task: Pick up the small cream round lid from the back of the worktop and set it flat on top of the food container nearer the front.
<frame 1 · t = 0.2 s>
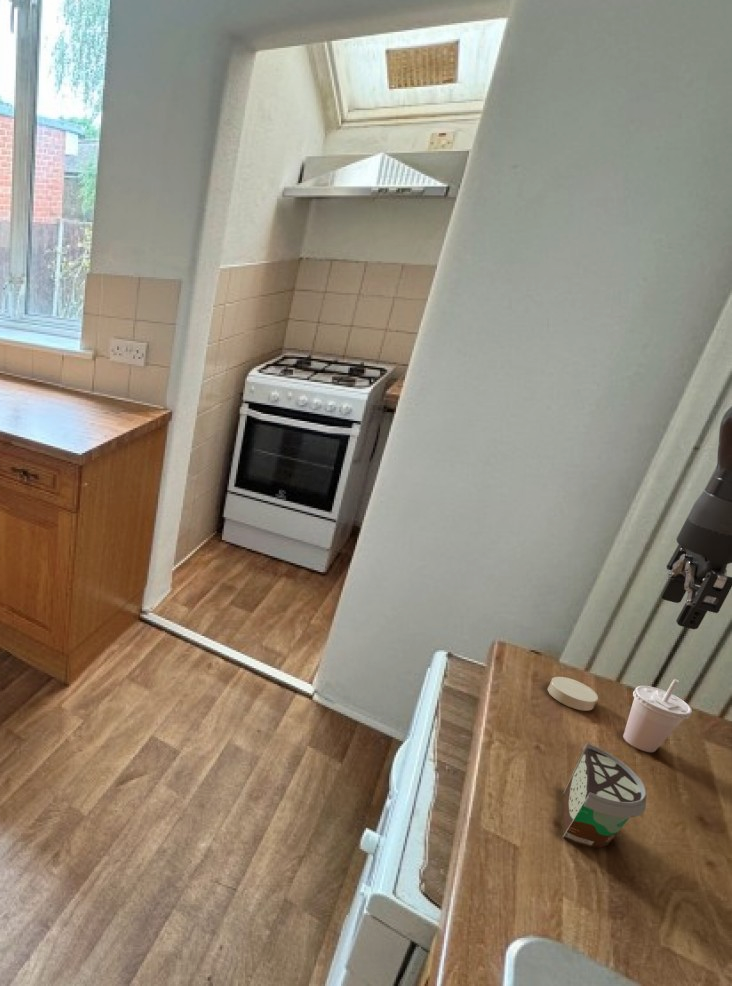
hand: (677, 612, 96), 23 cm above the countertop, tool pointing down, fingers open, 8 cm apart
food container: (590, 831, 85), on the countertop
cream round lid: (569, 699, 109), on the countertop
smoothie: (637, 745, 100), on the countertop
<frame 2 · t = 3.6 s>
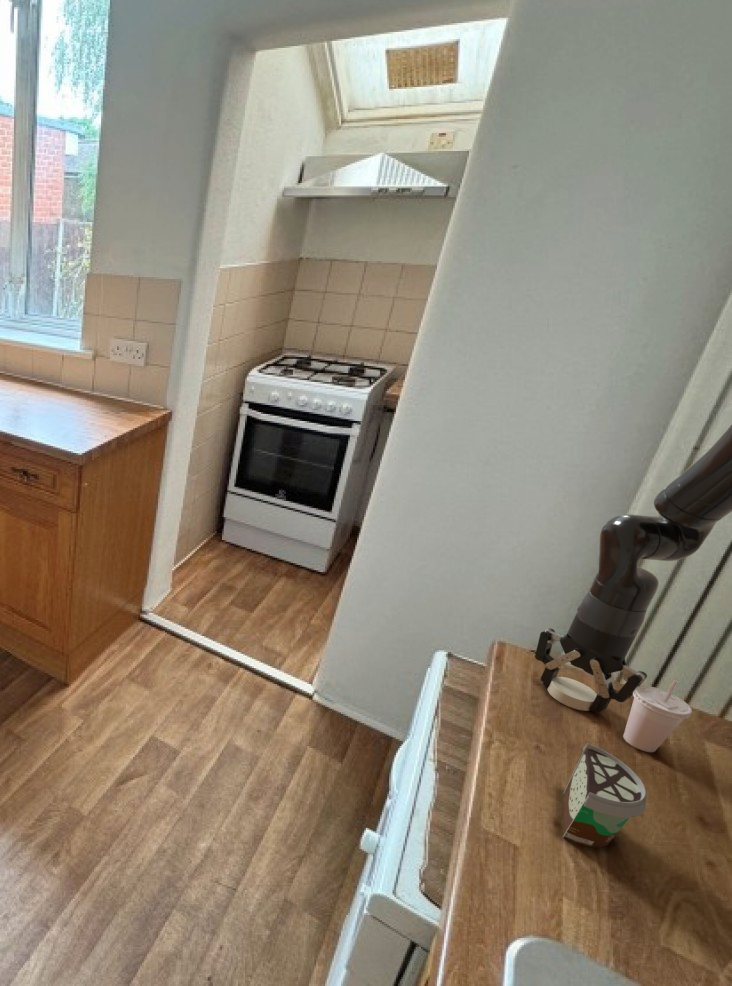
hand: (570, 696, 109), 1 cm above the countertop, tool pointing down, fingers closed on cream round lid, 6 cm apart
cream round lid: (569, 699, 109), on the countertop, touching gripper
everything else where it was.
when the fingers open (11 cm above the countertop, at t = 11.8 s): cream round lid stays where it is, resting on food container.
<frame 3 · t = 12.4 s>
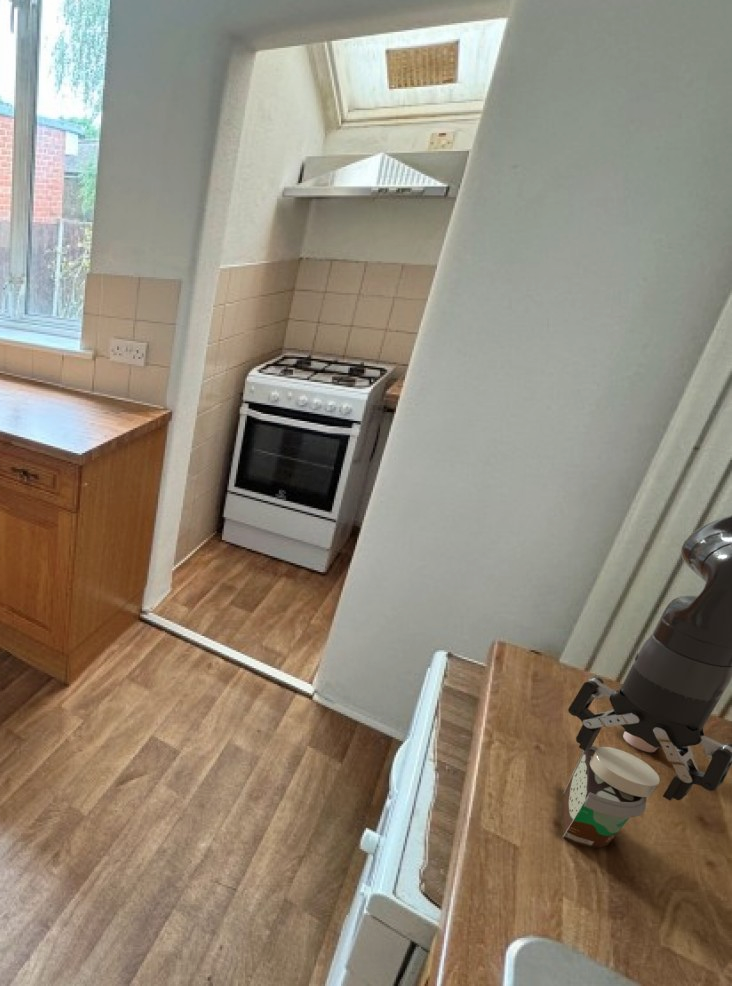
hand: (624, 770, 81), 12 cm above the countertop, tool pointing down, fingers open, 8 cm apart
food container: (590, 831, 85), on the countertop, touching cream round lid
cream round lid: (619, 779, 82), point 10 cm above the countertop, touching food container
everything else where it was.
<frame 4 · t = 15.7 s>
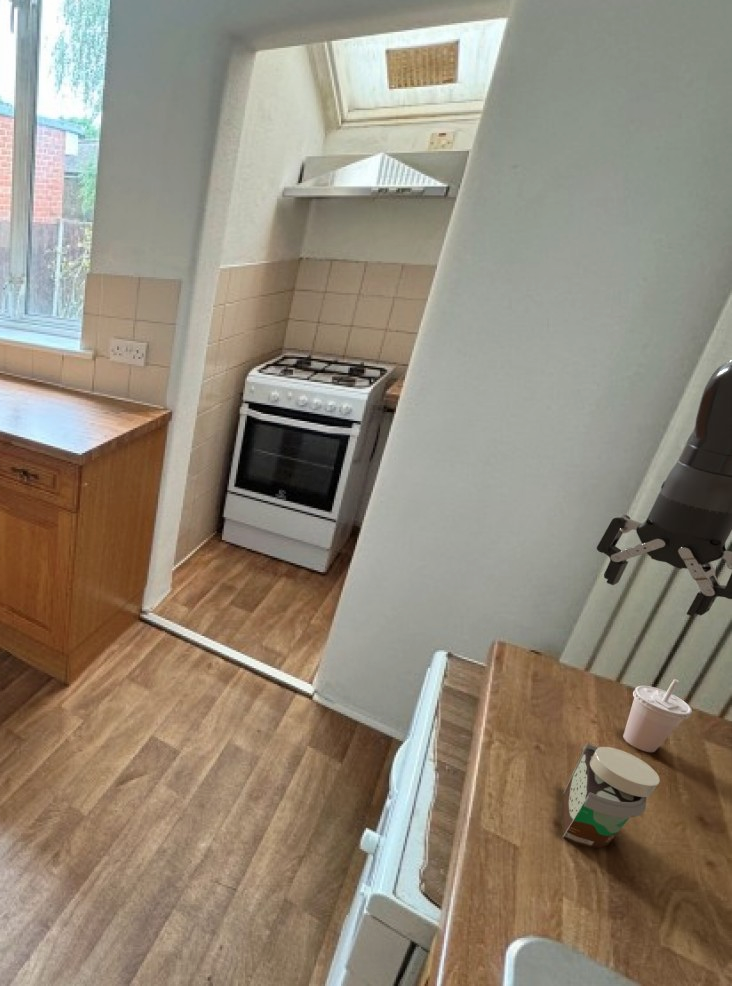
hand: (650, 598, 87), 30 cm above the countertop, tool pointing down, fingers open, 8 cm apart
nothing on the countertop moved.
at the end: cream round lid inside the target area on the food container (0.0 cm from its centre), point 10.2 cm above the food container's base; cream round lid tilted 0°; the gripper is holding nothing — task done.
